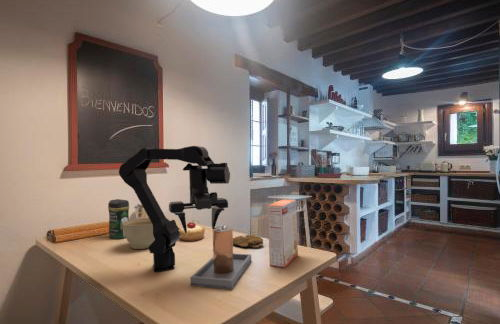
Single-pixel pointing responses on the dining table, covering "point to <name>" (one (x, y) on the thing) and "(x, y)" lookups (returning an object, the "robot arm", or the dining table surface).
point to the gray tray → (222, 281)
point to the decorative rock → (248, 241)
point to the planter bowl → (139, 232)
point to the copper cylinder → (223, 249)
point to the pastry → (192, 232)
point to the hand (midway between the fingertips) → (199, 230)
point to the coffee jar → (117, 217)
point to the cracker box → (282, 232)
